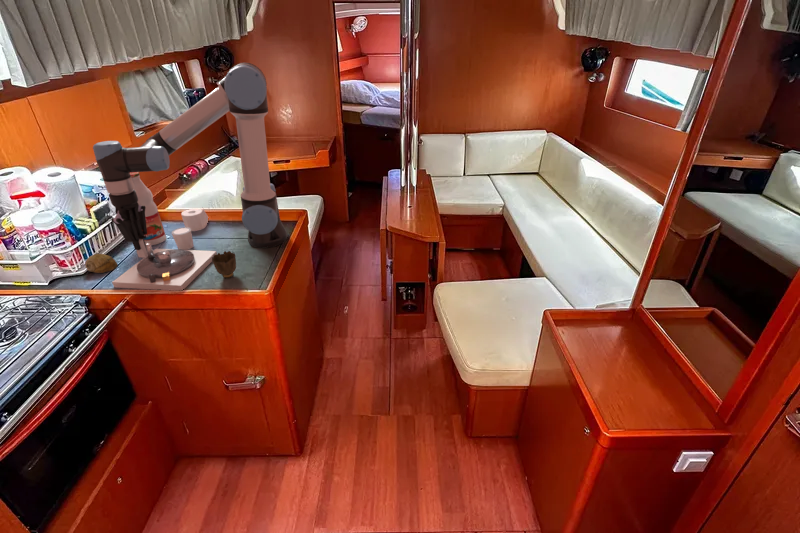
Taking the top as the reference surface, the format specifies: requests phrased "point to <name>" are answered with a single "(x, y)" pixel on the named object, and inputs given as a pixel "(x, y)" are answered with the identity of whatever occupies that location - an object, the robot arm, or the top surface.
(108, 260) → the seashell
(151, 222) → the fruit juice
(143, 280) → the base plate
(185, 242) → the pale pink cylinder
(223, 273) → the cup
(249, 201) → the robot arm
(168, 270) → the flange plate
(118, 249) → the top surface
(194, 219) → the toilet paper
